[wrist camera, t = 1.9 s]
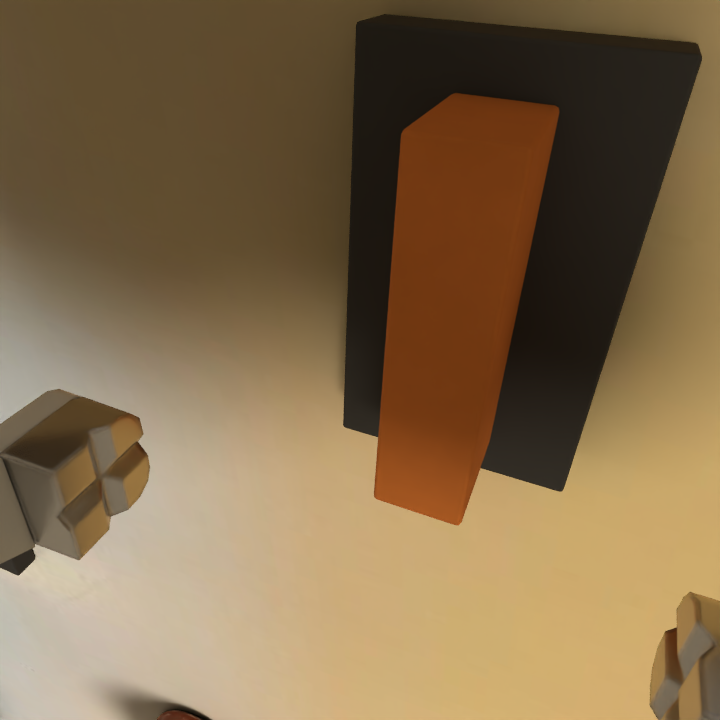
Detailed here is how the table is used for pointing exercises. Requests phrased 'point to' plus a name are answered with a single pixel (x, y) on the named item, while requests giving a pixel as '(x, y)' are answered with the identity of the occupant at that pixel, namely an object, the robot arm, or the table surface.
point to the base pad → (19, 562)
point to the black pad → (577, 216)
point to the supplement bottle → (177, 716)
